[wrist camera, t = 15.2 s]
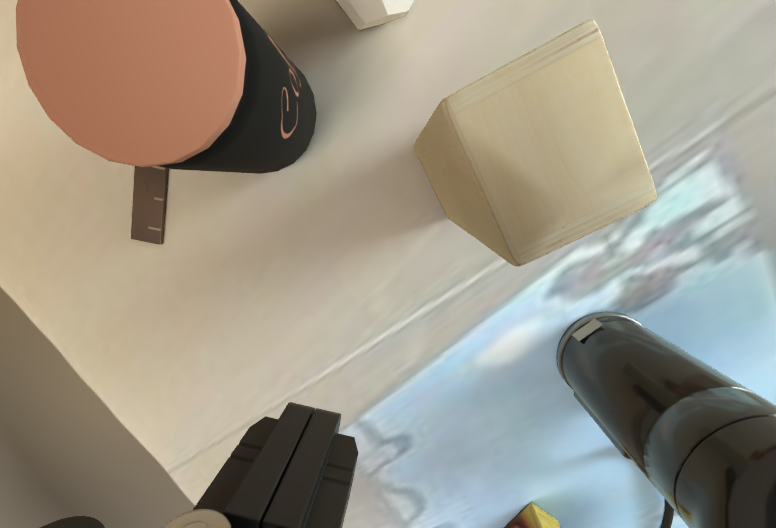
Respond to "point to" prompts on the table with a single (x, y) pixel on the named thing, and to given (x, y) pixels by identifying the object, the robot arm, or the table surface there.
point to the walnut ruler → (149, 203)
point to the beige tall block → (538, 150)
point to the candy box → (533, 519)
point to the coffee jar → (166, 83)
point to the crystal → (374, 11)
